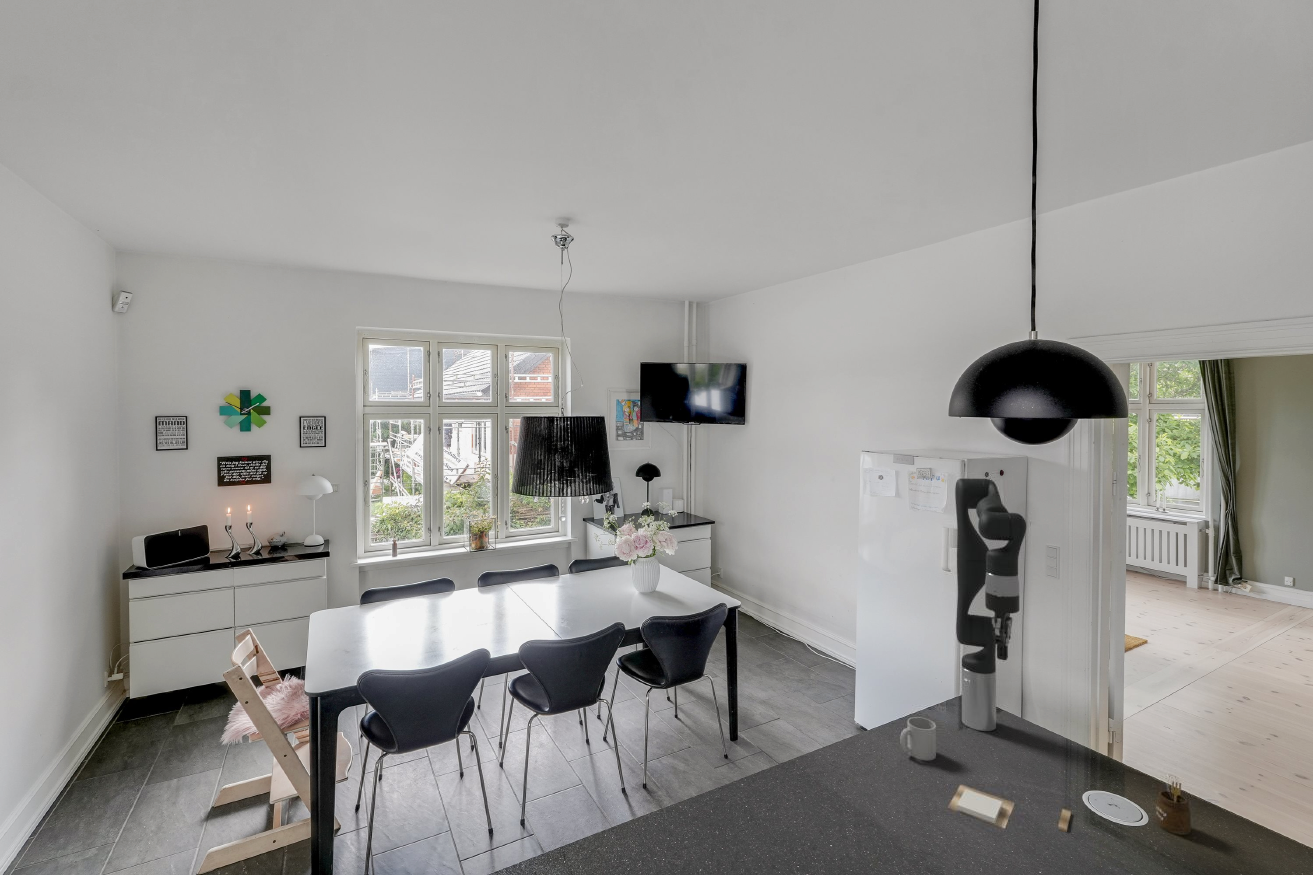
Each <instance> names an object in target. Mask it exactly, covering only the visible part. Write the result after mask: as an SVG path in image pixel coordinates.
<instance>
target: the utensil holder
mask: <svg viewBox="0 0 1313 875" xmlns="http://www.w3.org/2000/svg"><path fill="white" fill-rule="evenodd" d="M1168 776H1169V777H1168ZM1171 777H1173V778H1175V779H1176V781H1174V780H1171V782H1170V781H1169V780H1170V779H1167V784H1166V785H1165V786H1166V790H1165V789H1164V790H1160V791H1159V792H1158V799H1157V801H1156V806H1155V807H1156V808H1155V810H1156V812H1155V814H1156V816H1155V818H1156V819H1155V820H1156V822H1157V824H1158V826H1159V827H1160V828H1161V829H1164V830H1165V831H1167V832H1168V833H1171V834H1173V835H1178V836H1187V835H1189V834H1190V833H1191V827H1192V824H1191V823H1192V815H1191V811H1190V808H1189V806H1190V805H1189V801H1188V798H1186V797H1185V796H1184V795H1183V794H1181V791H1182V783H1181V782H1180V781H1179V779H1178V777H1177V776H1176V775H1174V774H1171V773H1170V774H1167V775H1166V778H1171ZM1169 782H1170V783H1171V790H1170V788H1168V787H1169V784H1170V783H1169Z"/></svg>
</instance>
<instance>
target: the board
mask: <svg viewBox="0 0 1313 875" xmlns="http://www.w3.org/2000/svg"><path fill="white" fill-rule="evenodd" d="M965 789H967V790H970V791H973V792H976V793H979V794H982V795H985V796H988V797H990V798H993V799H996V800H999V801H1002V809H1001V811H1000V813H999V816H998V818H997V820H996V823H992V822H989V821H986V820H984V819H981V818H978V817H975V816H973V815H970V814H967V813H965V812H962V811H959V810H957V804H958V802H959V800H960V798H961V796H962V795H963V793H964V791H965ZM1015 804H1016V803H1015V802H1013V801H1010V800H1008V799H1004V798H1002V797H999V796H996V795H993V794H990V793H987V792H984V791H981V790H978V789H975V788H973V787H970V786H967V785H964V784H959V786H958V788H957V790H956V792H955V794H954V795H953V797H952V799H951V801H949V804H948V806H947V808H948V809H950V810H953V811H955V812H957V813H961V814H964V815H967V816H969V817H972V818H975V819H976V820H980V821H983V822H984V823H985V822H986V823H988V824H991V825H993V826H996V827H999V828H1001V829H1006V827H1007V825H1008V821H1009V819H1010V818H1011V814H1012V811H1013V809H1014V806H1015Z"/></svg>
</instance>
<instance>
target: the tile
mask: <svg viewBox="0 0 1313 875" xmlns="http://www.w3.org/2000/svg"><path fill="white" fill-rule="evenodd" d="M1001 809H1002V801H999V800H996V799H993V798H990V797H988V796H985V795H982V794H979V793H976V792H973V791H970V790H967V789H965V791H964V793H963V795H962V796H961V798H960V800H959V802H958V804H957V810H959V811H962V812H965V813H967V814H970V815H973V816H975V817H978V818H981V819H984V820H986V821H989V822H992V823H996V820H997V818H998V816H999V813H1000V811H1001Z"/></svg>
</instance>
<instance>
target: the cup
mask: <svg viewBox="0 0 1313 875" xmlns="http://www.w3.org/2000/svg"><path fill="white" fill-rule="evenodd" d="M906 722H907V723H906V724H907V727H906V728H904V729H903V730H901V733H900V738H899V741H900V742H899V743H900V746H901V749H902V751H904V752H905V753H908V755H909V757H913V758H915V759H917V760H921V761H932V760H934V759H936V757H937V725H936V723H935V722H934V721H932V720H930V719H928V718H926V717H921V716H914V717H912V716H911V717H910V718H908V719H907V721H906Z"/></svg>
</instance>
